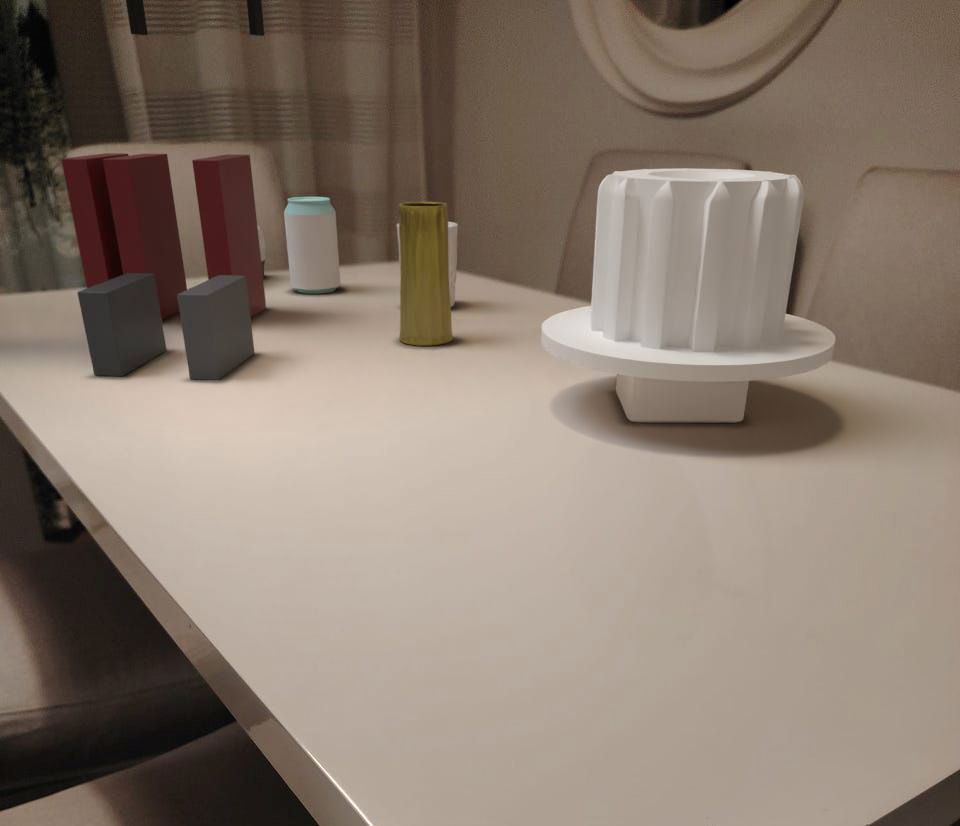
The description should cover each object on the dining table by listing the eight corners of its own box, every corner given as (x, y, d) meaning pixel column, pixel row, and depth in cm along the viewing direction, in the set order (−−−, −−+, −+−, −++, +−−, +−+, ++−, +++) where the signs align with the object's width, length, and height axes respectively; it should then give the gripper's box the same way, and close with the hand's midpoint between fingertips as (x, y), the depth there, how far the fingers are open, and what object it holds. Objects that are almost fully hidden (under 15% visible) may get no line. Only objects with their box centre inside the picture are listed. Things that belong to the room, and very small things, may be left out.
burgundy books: (93, 322, 116) (60, 158, 107) (132, 304, 125) (105, 153, 116) (155, 323, 115) (127, 159, 106) (189, 306, 124) (167, 153, 115)
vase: (463, 340, 108) (463, 204, 100) (423, 349, 104) (420, 208, 97) (428, 331, 111) (425, 199, 104) (388, 340, 108) (382, 203, 100)
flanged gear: (546, 451, 74) (556, 188, 65) (533, 370, 96) (539, 163, 86) (861, 452, 74) (918, 188, 65) (777, 371, 96) (810, 164, 86)
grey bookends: (94, 375, 94) (76, 291, 90) (141, 349, 103) (127, 272, 99) (218, 379, 93) (207, 295, 89) (254, 353, 102) (245, 275, 98)
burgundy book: (214, 325, 114) (191, 160, 105) (244, 307, 124) (226, 154, 115) (238, 326, 114) (217, 160, 105) (266, 308, 123) (250, 154, 114)
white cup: (468, 302, 127) (468, 222, 122) (442, 313, 121) (440, 229, 115) (417, 298, 130) (414, 219, 125) (389, 308, 123) (385, 226, 118)
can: (343, 293, 132) (336, 200, 126) (292, 295, 131) (284, 201, 125) (338, 284, 138) (331, 195, 132) (289, 286, 137) (281, 196, 131)
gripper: (300, -211, 95) (316, 37, 106) (67, -206, 98) (106, 36, 108) (277, -233, 89) (297, 33, 99) (29, -227, 91) (74, 32, 102)
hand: (198, 35), depth 104 cm, fingers open, 13 cm apart
